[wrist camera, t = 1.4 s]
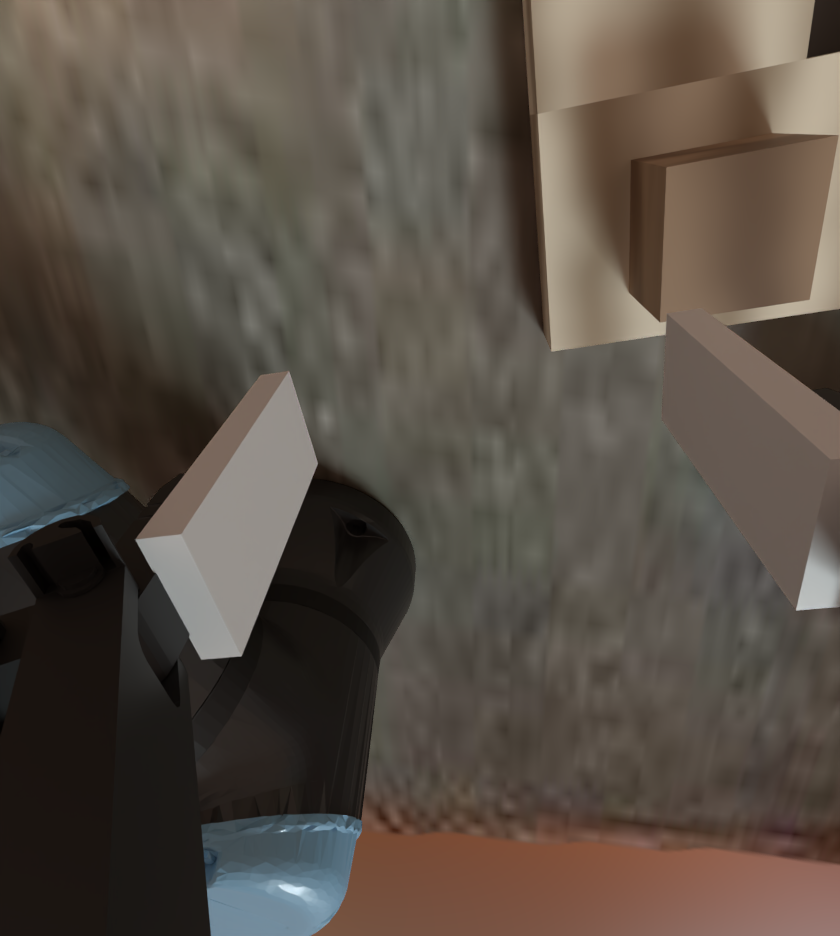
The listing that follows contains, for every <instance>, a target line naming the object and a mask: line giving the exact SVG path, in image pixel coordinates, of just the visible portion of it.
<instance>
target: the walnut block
mask: <svg viewBox="0 0 840 936" xmlns="http://www.w3.org/2000/svg"><path fill="white" fill-rule="evenodd" d="M838 137H839V135H816V134H784V133H770V134H765V135H760V136H754V137H749V138H744V139H739V140H733V141H728V142H723V143H718V144H712V145H707V146H702V147H696V148H691V149H686V150H681V151H675V152H670V153H665V154H660V155H654V156H649V157H644V158H638V159H633V160H631V179H630V252H629V293H630V294H631V295H632V296H633V297H634V298H635V299H636V300H637V301H638V302H639V303H640V304H641V305H642V306H643V307H644V308H645V309H646V310H647V311H648V312H649V313H650V314H652V315H653V316H654V317H655V318H656V319H657V320H658V321H659V322H666V318H667V313H673V312H680V311H686V310H693V309H699V308H702V309H703V310H705V311H706V312H707V313H709V314H710V315H713V314H720V313H726V312H733V311H740V310H746V309H753V308H759V307H766V306H773V305H779V304H786V303H792V302H799V301H805V300H810V295H811V289H812V284H813V278H814V272H815V267H816V261H817V255H818V250H819V244H820V238H821V233H822V227H823V222H824V216H825V210H826V205H827V199H828V193H829V188H830V182H831V176H832V171H833V165H834V159H835V154H836V148H837V142H838Z"/></svg>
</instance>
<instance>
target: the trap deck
mask: <svg viewBox="0 0 840 936" xmlns="http://www.w3.org/2000/svg"><path fill="white" fill-rule="evenodd" d="M522 6H523V21H524V36H525V52H526V67H527V82H528V98H529V113H530V128H531V144H532V159H533V175H534V190H535V205H536V221H537V236H538V251H539V267H540V282H541V297H542V313H543V328H544V335H545V338H546V340H547V342H548V344H549V347H550V349H551V351H559V350H566V349H572V348H579V347H586V346H592V345H599V344H606V343H613V342H619V341H626V340H633V339H640V338H646V337H653V336H660V335H666V322H659V321H658V320H657V319H656V318H655V317H654V316H653V315H652V314H650V313H649V312H648V311H647V310H646V309H645V308H644V307H643V306H642V305H641V304H640V303H639V302H638V301H637V300H636V299H635V298H634V297H633V296H632V295H631V294H630V293H629V252H630V179H631V160H633V159H638V158H644V157H649V156H654V155H660V154H665V153H670V152H675V151H681V150H686V149H691V148H696V147H702V146H707V145H712V144H718V143H723V142H728V141H733V140H739V139H744V138H749V137H754V136H760V135H765V134H770V133H784V134H816V135H839V137H838V142H837V148H836V154H835V159H834V165H833V171H832V176H831V182H830V188H829V193H828V199H827V205H826V210H825V216H824V222H823V227H822V233H821V238H820V244H819V250H818V255H817V261H816V267H815V272H814V278H813V284H812V289H811V295H810V300H805V301H799V302H792V303H786V304H779V305H773V306H766V307H759V308H753V309H746V310H740V311H733V312H726V313H720V314H713V315H711V316H713V317H714V318H715V319H717V320H718V321H719V322H721V323H722V324H723V325H725V326H727V325H734V324H740V323H747V322H754V321H761V320H767V319H774V318H781V317H787V316H794V315H801V314H808V313H814V312H821V311H828V310H834V309H840V0H522Z"/></svg>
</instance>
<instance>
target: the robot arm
mask: <svg viewBox="0 0 840 936" xmlns="http://www.w3.org/2000/svg"><path fill="white" fill-rule="evenodd" d="M661 419H662V421H663V422H664V424H665V425H666V427H667V428H668V429H669V431H670V432H671V434H672V435H673V437H674V438H675V439H676V441H677V442H678V444H679V445H680V446H681V448H682V449H683V451H684V452H685V454H686V455H687V456H688V458H689V459H690V461H691V462H692V464H693V465H694V466H695V468H696V469H697V471H698V472H699V473H700V475H701V476H702V478H703V479H704V481H705V482H706V483H707V485H708V486H709V488H710V489H711V491H712V492H713V493H714V495H715V496H716V498H717V499H718V500H719V502H720V503H721V505H722V506H723V508H724V509H725V510H726V512H727V513H728V515H729V516H730V518H731V519H732V520H733V522H734V523H735V525H736V526H737V527H738V529H739V530H740V532H741V533H742V535H743V536H744V537H745V539H746V540H747V542H748V543H749V545H750V546H751V547H752V549H753V550H754V552H755V553H756V554H757V556H758V557H759V559H760V560H761V562H762V563H763V564H764V566H765V567H766V569H767V570H768V572H769V573H770V574H771V576H772V577H773V579H774V580H775V581H776V583H777V584H778V586H779V587H780V589H781V590H782V591H783V593H784V594H785V596H786V597H787V599H788V600H789V601H790V603H791V604H792V606H793V607H794V608H795V610H808V609H820V608H832V607H840V392H837V391H834V390H831V389H828V388H824V389H816V390H811V389H809V388H808V387H807V386H805V385H804V384H803V383H801V382H800V381H799V380H797V379H796V378H795V377H793V376H792V375H791V374H789V373H788V372H787V371H785V370H784V369H782V368H781V367H780V366H778V365H777V364H776V363H774V362H773V361H772V360H770V359H769V358H768V357H766V356H765V355H764V354H762V353H761V352H760V351H758V350H757V349H756V348H754V347H753V346H752V345H750V344H749V343H748V342H746V341H745V340H744V339H742V338H741V337H740V336H738V335H737V334H736V333H734V332H733V331H731V330H730V329H729V328H727V327H726V326H725V325H723V324H722V323H721V322H719V321H718V320H717V319H715V318H714V317H713V316H711V315H710V314H709V313H707V312H706V311H705V310H703V309H702V308H699V309H693V310H686V311H680V312H673V313H667V318H666V338H665V358H664V378H663V398H662V418H661ZM317 465H318V462H317V459H316V455H315V452H314V449H313V446H312V443H311V439H310V436H309V433H308V430H307V427H306V423H305V420H304V417H303V414H302V411H301V407H300V404H299V401H298V398H297V395H296V391H295V388H294V385H293V382H292V379H291V375H290V372H289V371H285V372H278V373H272V374H265V375H260V376H259V378H258V379H257V380H256V382H255V383H254V384H253V386H252V387H251V388H250V390H249V391H248V392H247V394H246V395H245V396H244V397H243V399H242V400H241V401H240V403H239V404H238V405H237V407H236V408H235V409H234V411H233V412H232V413H231V414H230V416H229V417H228V418H227V420H226V421H225V422H224V424H223V425H222V426H221V428H220V429H219V430H218V432H217V433H216V434H215V435H214V437H213V438H212V439H211V441H210V442H209V443H208V445H207V446H206V447H205V449H204V450H203V451H202V453H201V454H200V455H199V456H198V458H197V459H196V460H195V462H194V463H193V464H192V466H191V467H190V468H189V470H188V471H187V472H186V473H185V474H179V475H178V476H176V477H175V478H174V479H172V480H171V481H170V482H168V483H167V484H166V485H164V486H163V487H162V488H160V489H159V490H158V492H157V493H156V494H155V495H154V497H153V498H152V499H151V500H150V502H149V503H148V504H147V505H148V507H144V506H143V505H142V504H141V503H140V502H139V501H138V500H137V499H136V498H135V497H134V496H133V495H132V494H130V493H129V492H128V491H127V490H128V489H129V488H130V486H129V485H128V484H126V483H125V482H124V480H122V479H118V478H113V477H112V476H111V475H110V474H108V473H107V472H106V471H105V470H104V469H102V468H101V467H100V466H99V465H98V464H97V463H95V462H94V461H93V460H92V459H91V458H89V457H88V456H87V455H86V454H85V453H84V452H82V451H81V450H80V449H79V448H78V447H76V446H75V445H74V444H73V443H72V442H71V441H69V440H68V439H67V438H66V437H65V436H63V435H62V434H60V433H59V432H57V431H56V430H54V429H52V428H50V427H47V426H44V425H41V424H37V423H29V422H13V423H6V424H2V425H0V936H311V935H312V934H314V933H316V932H317V931H319V930H320V929H321V928H323V927H324V926H325V925H326V924H327V923H329V921H330V920H331V919H332V917H333V916H334V915H335V914H336V913H337V911H338V909H339V907H340V905H341V902H342V901H343V899H344V896H345V893H346V891H347V886H348V881H349V876H350V870H351V865H352V860H353V854H354V849H355V844H356V839H357V838H358V837H359V835H360V834H361V831H362V821H361V817H362V808H363V800H364V791H365V783H366V774H367V766H368V757H369V749H370V740H371V732H372V723H373V715H374V706H375V698H376V689H377V680H378V672H379V665H380V659H381V657H382V655H383V654H384V652H385V650H386V648H387V647H388V645H389V643H390V641H391V639H392V638H393V636H394V634H395V632H396V631H397V629H398V627H399V625H400V623H401V622H402V620H403V618H404V616H405V614H406V613H407V611H408V609H409V606H410V603H411V600H412V596H413V592H414V582H415V570H416V563H415V555H414V550H413V547H412V544H411V541H410V539H409V537H408V535H407V533H406V532H405V530H404V528H403V527H402V526H401V524H400V523H399V522H398V520H397V519H396V518H395V517H394V516H393V515H392V514H391V513H390V512H389V511H388V510H387V509H386V508H385V507H383V506H382V505H381V504H379V503H378V502H377V501H375V500H374V499H372V498H370V497H369V496H367V495H365V494H363V493H361V492H359V491H357V490H355V489H353V488H350V487H347V486H345V485H341V484H338V483H334V482H330V481H325V480H318V479H312V477H313V475H314V472H315V470H316V467H317Z"/></svg>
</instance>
